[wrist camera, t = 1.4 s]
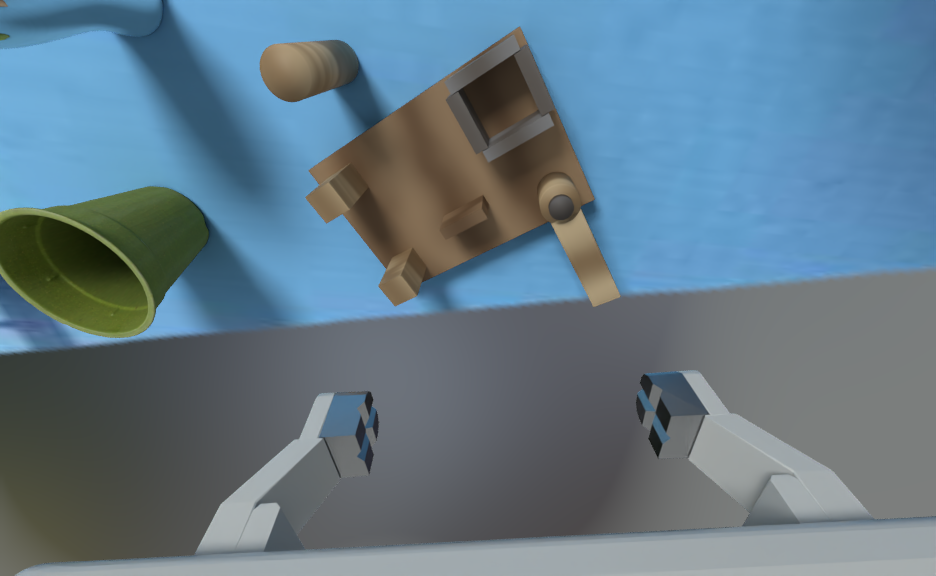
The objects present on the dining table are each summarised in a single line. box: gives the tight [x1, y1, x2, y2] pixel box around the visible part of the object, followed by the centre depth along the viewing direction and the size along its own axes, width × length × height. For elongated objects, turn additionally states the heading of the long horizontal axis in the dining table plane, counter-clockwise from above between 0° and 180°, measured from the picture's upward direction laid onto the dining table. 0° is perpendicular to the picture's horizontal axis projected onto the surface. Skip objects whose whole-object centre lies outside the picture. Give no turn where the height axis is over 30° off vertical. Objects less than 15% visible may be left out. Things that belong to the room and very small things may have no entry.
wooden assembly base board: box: [305, 27, 595, 306], centre depth 32 cm, size 20×14×7 cm
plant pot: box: [0, 186, 209, 338], centre depth 35 cm, size 12×12×11 cm
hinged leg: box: [537, 172, 621, 307], centre depth 32 cm, size 12×3×4 cm, turn 31°
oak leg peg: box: [260, 40, 359, 102], centre depth 27 cm, size 3×3×9 cm
